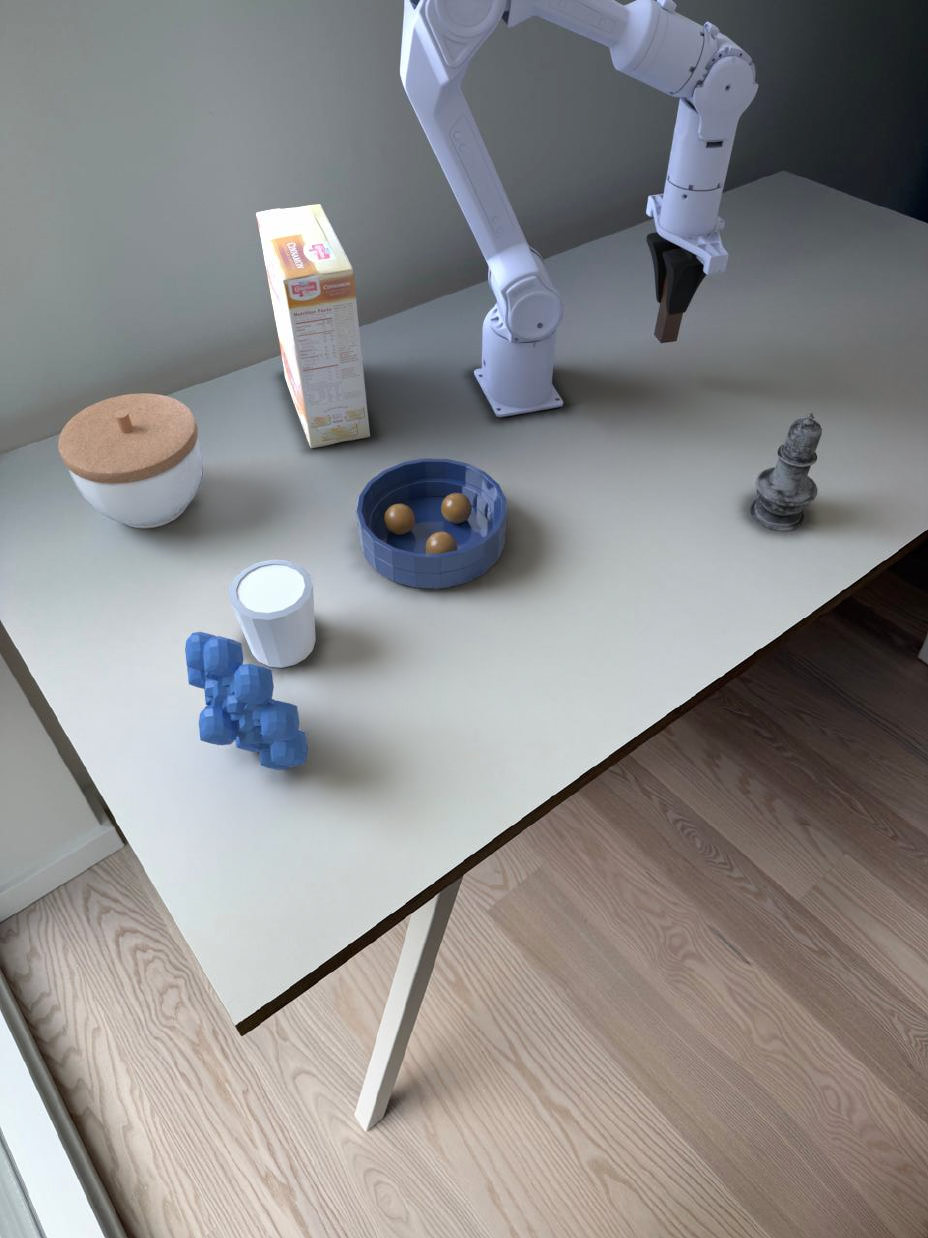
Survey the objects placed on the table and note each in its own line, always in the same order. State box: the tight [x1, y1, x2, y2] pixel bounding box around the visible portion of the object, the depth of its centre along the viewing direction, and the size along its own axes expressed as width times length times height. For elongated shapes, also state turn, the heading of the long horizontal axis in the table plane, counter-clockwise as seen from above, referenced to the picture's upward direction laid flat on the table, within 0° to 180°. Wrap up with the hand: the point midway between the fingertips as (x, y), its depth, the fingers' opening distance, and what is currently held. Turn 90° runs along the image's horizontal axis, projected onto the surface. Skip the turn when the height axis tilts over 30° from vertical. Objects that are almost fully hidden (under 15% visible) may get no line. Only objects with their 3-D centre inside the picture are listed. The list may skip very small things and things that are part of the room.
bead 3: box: [426, 532, 458, 554], centre depth 83 cm, size 3×3×3 cm
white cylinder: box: [228, 558, 317, 669], centre depth 76 cm, size 7×7×7 cm
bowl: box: [355, 458, 507, 589], centre depth 85 cm, size 14×14×4 cm
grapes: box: [184, 631, 309, 771], centre depth 66 cm, size 12×7×12 cm, turn 51°
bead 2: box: [441, 493, 472, 524], centre depth 87 cm, size 3×3×3 cm
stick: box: [653, 248, 684, 344], centre depth 98 cm, size 2×2×10 cm
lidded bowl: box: [57, 392, 204, 529], centre depth 86 cm, size 13×13×11 cm
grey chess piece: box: [749, 412, 823, 532], centre depth 85 cm, size 6×6×12 cm
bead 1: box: [384, 504, 415, 535], centre depth 86 cm, size 3×3×3 cm
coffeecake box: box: [255, 203, 371, 449], centre depth 95 cm, size 15×7×20 cm, turn 18°
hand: (671, 306), depth 98 cm, fingers closed on stick, 2 cm apart
